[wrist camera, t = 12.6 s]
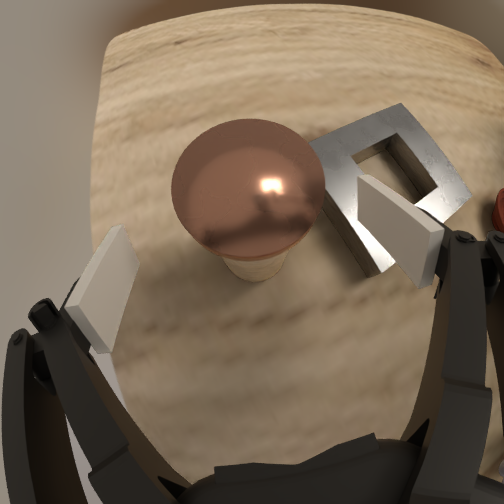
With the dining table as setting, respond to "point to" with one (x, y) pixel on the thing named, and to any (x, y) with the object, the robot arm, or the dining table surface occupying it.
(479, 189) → the dining table surface
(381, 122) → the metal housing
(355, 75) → the dining table surface
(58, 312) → the robot arm
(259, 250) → the silver copper-capped cylinder
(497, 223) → the pottery
